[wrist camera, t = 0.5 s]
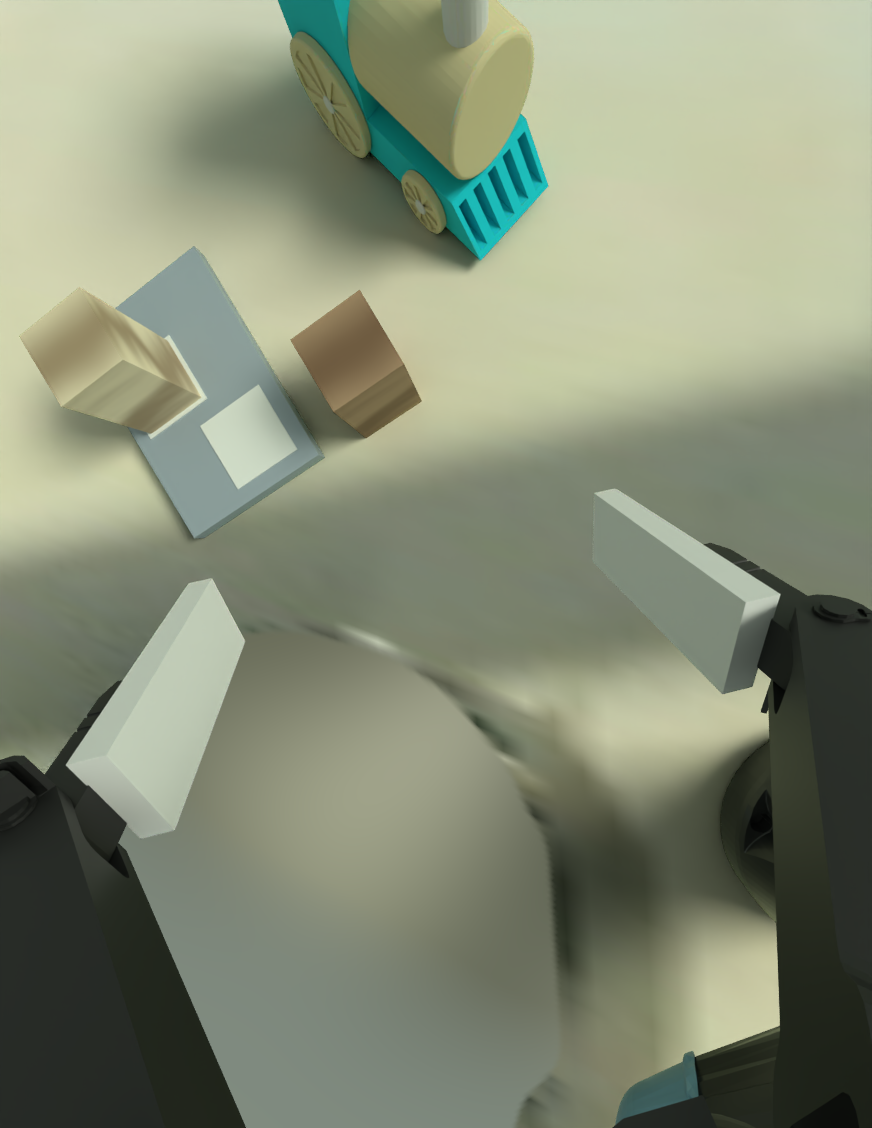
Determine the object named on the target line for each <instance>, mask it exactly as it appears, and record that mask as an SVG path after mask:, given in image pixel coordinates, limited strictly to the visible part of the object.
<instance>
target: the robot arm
mask: <svg viewBox="0 0 872 1128" xmlns="http://www.w3.org/2000/svg"><path fill="white" fill-rule="evenodd" d="M592 562H593V563H594V564H595V565H596V566H597V567H598V568H599V569H600V570H601V571H602V572H603V573H604V574H605V575H606V576H607V577H608V578H609V579H610V580H611V581H612V582H613V583H614V584H615V585H616V586H617V587H618V588H619V589H620V590H621V591H622V592H623V593H624V594H625V595H626V596H627V597H628V598H629V599H630V600H631V601H632V602H633V603H634V604H635V605H636V606H637V607H638V608H639V610H640V611H641V612H642V613H643V614H644V615H645V616H646V617H647V618H648V619H649V620H650V621H651V622H652V623H653V624H654V625H655V626H656V627H657V628H658V629H659V630H660V631H661V632H662V633H663V634H664V635H665V636H666V637H667V638H668V639H669V640H670V641H671V642H672V643H673V644H674V645H675V646H676V647H677V648H678V649H679V650H680V651H681V652H682V653H683V654H684V655H685V656H686V658H687V659H688V660H689V661H690V662H691V663H692V664H693V665H694V666H695V667H696V668H697V669H698V670H699V671H700V672H701V673H702V674H703V675H704V676H705V677H706V678H707V679H708V680H709V681H710V682H711V683H712V684H713V685H714V686H715V687H716V688H717V689H718V690H719V691H720V692H721V693H722V694H725V693H729V692H733V691H737V690H741V689H745V688H749V687H752V686H753V683H754V680H755V676H756V673H757V670H758V668H759V669H760V670H761V671H762V672H764V673H765V674H766V675H767V676H768V677H769V678H771V682H770V685H769V688H768V691H767V694H766V697H765V700H764V703H763V706H762V709H761V712H762V713H767V711H768V708H769V736H770V742H768V743H766V744H765V745H763V746H762V747H761V748H759V749H758V750H757V751H756V752H754V753H753V754H752V755H751V756H750V757H749V758H748V759H747V760H746V761H745V762H744V763H743V764H742V766H741V767H740V768H739V770H738V771H737V772H736V774H735V775H734V777H733V779H732V781H731V782H730V784H729V787H728V789H727V791H726V794H725V797H724V801H723V805H722V810H721V836H722V842H723V846H724V850H725V852H726V855H727V858H728V860H729V862H730V864H731V866H732V868H733V870H734V872H735V873H736V875H737V876H738V878H739V879H740V880H741V882H742V883H743V884H744V886H745V887H746V888H747V890H748V891H749V892H750V894H751V895H752V896H753V898H754V899H755V900H756V902H757V903H758V904H759V905H760V907H761V908H762V909H763V910H764V911H765V912H766V913H767V914H768V915H769V916H770V917H771V918H772V919H773V920H774V921H775V922H776V926H777V953H778V980H779V1007H780V1026H778V1027H776V1028H773V1029H770V1030H767V1031H765V1032H762V1033H759V1034H756V1035H754V1036H751V1037H748V1038H745V1039H743V1040H740V1041H737V1042H735V1043H732V1044H729V1045H726V1046H724V1047H721V1048H718V1049H715V1050H713V1051H710V1052H707V1053H704V1054H702V1055H699V1056H696V1057H695V1055H694V1052H693V1051H691V1052H688V1053H685V1054H684V1057H683V1062H681V1063H679V1064H677V1065H675V1066H672V1067H670V1068H668V1069H666V1070H664V1071H662V1072H659V1073H657V1074H655V1075H653V1076H651V1077H649V1078H647V1079H644V1080H642V1081H640V1082H638V1083H636V1084H635V1085H633V1086H632V1087H631V1088H629V1090H628V1091H627V1092H626V1093H625V1095H624V1097H623V1098H622V1101H621V1103H620V1106H619V1109H618V1113H617V1117H616V1124H615V1126H614V1127H613V1128H872V611H871V610H870V609H868V608H867V607H865V606H864V605H862V604H859V603H857V602H854V601H852V600H849V599H846V598H841V597H837V596H832V595H811V596H807V595H805V594H804V593H802V592H800V591H799V590H797V589H795V588H794V587H792V586H790V585H789V584H787V583H785V582H784V581H782V580H780V579H779V578H777V577H775V576H774V575H772V574H771V573H769V572H767V571H766V570H764V569H760V567H759V566H757V565H756V564H754V563H752V562H751V561H747V559H746V558H744V557H742V556H741V555H739V554H737V553H736V552H734V551H733V550H731V549H728V548H725V547H722V546H718V545H715V544H712V543H708V544H704V545H703V544H701V543H700V542H698V541H697V540H695V539H694V538H692V537H690V536H689V535H687V534H686V533H684V532H683V531H681V530H680V529H678V528H676V527H675V526H673V525H672V524H670V523H669V522H667V521H665V520H664V519H662V518H661V517H659V516H658V515H656V514H655V513H653V512H651V511H650V510H648V509H647V508H645V507H644V506H642V505H640V504H639V503H637V502H636V501H634V500H633V499H631V498H630V497H628V496H626V495H625V494H623V493H622V492H620V491H619V490H617V489H611V490H606V491H602V492H597V493H594V518H593V559H592ZM244 643H245V640H244V638H243V636H242V634H241V632H240V631H239V629H238V627H237V625H236V623H235V621H234V619H233V617H232V615H231V614H230V612H229V610H228V608H227V606H226V604H225V602H224V600H223V598H222V596H221V595H220V593H219V591H218V589H217V587H216V585H215V583H214V581H213V579H212V578H211V579H206V580H202V581H197V582H193V583H188V585H187V586H186V588H185V589H184V591H183V592H182V594H181V595H180V597H179V598H178V600H177V601H176V603H175V604H174V606H173V607H172V609H171V610H170V612H169V613H168V614H167V616H166V617H165V619H164V620H163V622H162V623H161V625H160V626H159V628H158V629H157V631H156V632H155V634H154V635H153V637H152V638H151V640H150V641H149V643H148V644H147V646H146V647H145V648H144V650H143V651H142V653H141V654H140V656H139V657H138V659H137V660H136V662H135V663H134V665H133V666H132V668H131V669H130V671H129V672H128V674H127V675H126V677H125V678H124V680H121V681H117V682H116V683H115V684H114V685H113V686H112V687H110V688H109V689H108V690H107V691H106V692H105V693H104V694H103V695H102V696H101V697H99V699H98V700H97V701H96V703H95V704H94V706H93V707H92V708H91V710H90V711H89V713H88V714H87V718H84V720H83V721H82V723H81V724H80V725H79V727H78V728H77V732H75V733H74V734H73V735H72V737H71V738H70V740H69V741H68V742H67V744H66V745H65V747H64V748H63V749H62V751H61V752H60V754H59V755H58V756H57V758H56V759H55V761H54V762H53V763H52V765H51V766H50V768H49V769H48V771H47V772H46V773H45V775H44V774H43V773H42V772H41V771H40V770H39V769H38V768H37V767H36V766H35V765H34V764H32V763H31V762H30V761H29V760H28V759H27V758H26V757H25V756H11V757H8V758H5V759H2V760H0V1128H246V1127H245V1124H244V1122H243V1120H242V1117H241V1115H240V1113H239V1110H238V1108H237V1106H236V1103H235V1101H234V1099H233V1096H232V1094H231V1092H230V1090H229V1087H228V1085H227V1083H226V1080H225V1078H224V1076H223V1073H222V1071H221V1069H220V1066H219V1064H218V1062H217V1059H216V1057H215V1055H214V1053H213V1050H212V1048H211V1046H210V1043H209V1041H208V1039H207V1037H206V1034H205V1032H204V1029H203V1027H202V1025H201V1022H200V1020H199V1018H198V1015H197V1013H196V1011H195V1008H194V1006H193V1004H192V1002H191V999H190V997H189V995H188V992H187V990H186V988H185V985H184V983H183V981H182V978H181V976H180V974H179V971H178V969H177V967H176V965H175V962H174V960H173V958H172V955H171V953H170V951H169V949H168V946H167V944H166V942H165V939H164V937H163V934H162V932H161V930H160V928H159V925H158V923H157V921H156V918H155V916H154V914H153V911H152V909H151V907H150V904H149V902H148V900H147V897H146V895H145V893H144V891H143V888H142V886H141V884H140V881H139V879H138V877H137V874H136V872H135V870H134V867H133V865H132V863H131V861H130V858H129V856H128V853H127V851H126V850H125V849H124V848H123V847H122V846H121V845H120V844H118V842H119V840H120V838H121V835H122V833H123V831H124V829H125V827H126V825H127V826H128V827H129V828H130V829H131V830H132V831H133V832H134V833H135V834H136V835H137V836H138V837H139V838H140V839H142V838H147V837H151V836H155V835H159V834H163V833H166V832H171V831H175V829H176V826H177V823H178V820H179V818H180V815H181V812H182V810H183V807H184V804H185V802H186V799H187V796H188V793H189V791H190V788H191V786H192V783H193V780H194V778H195V775H196V772H197V770H198V767H199V764H200V761H201V759H202V756H203V753H204V750H205V748H206V745H207V743H208V740H209V737H210V734H211V732H212V729H213V726H214V723H215V721H216V718H217V716H218V713H219V710H220V708H221V705H222V702H223V700H224V697H225V694H226V691H227V689H228V686H229V683H230V681H231V678H232V675H233V673H234V670H235V667H236V665H237V662H238V659H239V657H240V654H241V651H242V648H243V646H244Z"/></svg>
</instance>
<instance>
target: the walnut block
mask: <svg viewBox="0 0 872 1128" xmlns="http://www.w3.org/2000/svg"><path fill="white" fill-rule="evenodd" d="M291 342H292V344H293V345H294V347H295V349H296V350H297V352H298V354H299V355H300V357H301V359H302V360H303V362H304V364H305V365H306V367H307V369H308V370H309V372H310V374H311V375H312V377H313V379H314V380H315V382H316V384H317V385H318V387H319V389H320V390H321V392H322V394H323V395H324V397H325V399H326V400H327V402H328V404H329V405H330V407H331V409H332V410H333V412H334V413H335V414H337V415H338V416H339V417H340V418H342V419H343V420H344V421H345V422H347V423H348V424H349V425H350V426H352V427H353V428H354V429H355V430H357V431H358V432H359V433H360V434H362V435H363V436H364V437H365V438H367V437H369V436H370V435H372V434H373V433H375V432H376V431H378V430H379V429H381V428H382V427H384V426H385V425H387V424H388V423H390V422H391V421H393V420H394V419H396V418H397V417H399V416H400V415H402V414H403V413H405V412H406V411H408V410H409V409H411V408H412V407H414V406H415V405H417V404H418V403H420V402H421V399H420V397H419V394H418V392H417V390H416V388H415V386H414V384H413V382H412V380H411V378H410V376H409V374H408V371H407V369H406V367H405V365H404V363H403V362H402V360H401V358H400V357H399V355H398V353H397V352H396V350H395V348H394V347H393V345H392V343H391V342H390V340H389V338H388V337H387V335H386V333H385V332H384V330H383V328H382V326H381V325H380V323H379V321H378V320H377V318H376V316H375V315H374V313H373V311H372V310H371V308H370V306H369V305H368V303H367V301H366V300H365V298H364V296H363V295H362V293H361V291H360V290H359V291H357V292H356V293H355V294H353V295H352V296H350V297H349V298H348V299H346V300H345V301H343V302H342V303H341V304H339V305H338V306H337V307H335V308H334V309H332V310H331V311H330V312H328V313H327V314H326V315H324V316H323V317H321V318H320V319H319V320H317V321H316V322H314V323H313V324H312V325H310V326H309V327H308V328H306V329H305V330H303V331H302V332H301V333H299V334H298V335H296V336H295V337H294V338H292V339H291Z"/></svg>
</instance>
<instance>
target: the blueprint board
mask: <svg viewBox="0 0 872 1128" xmlns="http://www.w3.org/2000/svg"><path fill="white" fill-rule="evenodd" d="M115 309H116V310H118V311H120V312H121V313H123V314H125V315H126V316H128V317H130V318H131V319H133V320H134V321H136V322H138V323H139V324H141V325H143V326H144V327H146V328H148V329H149V330H151V331H153V332H154V333H156V334H158V335H159V336H161V337H162V338H164V339H166V340H167V341H168V342H169V344H170V345H171V347H172V349H173V350H174V352H175V354H176V355H177V357H178V359H179V360H180V362H181V364H182V365H183V367H184V369H185V370H186V372H187V374H188V375H189V377H190V379H191V380H192V382H193V384H194V385H195V387H196V389H197V390H198V392H199V394H200V395H201V397H202V398H200V399H199V400H197V401H196V402H195V403H193V404H192V405H191V406H189V407H188V408H186V409H185V410H184V411H182V412H181V413H180V414H178V415H177V416H175V417H174V418H173V419H171V420H170V421H168V422H167V423H166V424H164V425H163V426H162V427H160V428H159V429H157V430H156V431H155V432H153V433H152V434H151V433H147V432H144V431H141V430H137V429H134V428H131V427H128V429H129V430H130V432H131V434H132V435H133V437H134V439H135V440H136V442H137V444H138V445H139V447H140V449H141V450H142V452H143V454H144V455H145V457H146V459H147V460H148V462H149V464H150V465H151V467H152V469H153V470H154V472H155V474H156V475H157V477H158V479H159V480H160V482H161V484H162V485H163V487H164V489H165V490H166V492H167V494H168V495H169V497H170V499H171V500H172V502H173V504H174V505H175V507H176V509H177V510H178V512H179V514H180V515H181V517H182V519H183V520H184V522H185V524H186V525H187V527H188V529H189V530H190V532H191V534H192V535H193V537H194V538H205V537H206V536H208V535H209V534H211V533H212V532H214V531H215V530H217V529H218V528H220V527H221V526H223V525H224V524H226V523H227V522H229V521H230V520H232V519H233V518H235V517H236V516H238V515H239V514H241V513H242V512H244V511H245V510H247V509H248V508H250V507H251V506H253V505H254V504H256V503H257V502H259V501H260V500H262V499H263V498H265V497H266V496H268V495H269V494H271V493H272V492H274V491H275V490H277V489H278V488H280V487H281V486H283V485H284V484H286V483H287V482H289V481H290V480H292V479H293V478H295V477H296V476H298V475H299V474H301V473H302V472H304V471H305V470H307V469H308V468H310V467H311V466H313V465H314V464H316V463H317V462H319V461H320V460H322V459H323V458H325V457H324V455H323V453H322V451H321V450H320V448H319V446H318V445H317V443H316V441H315V440H314V438H313V436H312V435H311V433H310V431H309V430H308V428H307V426H306V425H305V423H304V421H303V420H302V418H301V416H300V415H299V413H298V411H297V410H296V408H295V406H294V405H293V403H292V401H291V400H290V398H289V396H288V395H287V393H286V391H285V390H284V388H283V386H282V385H281V383H280V381H279V380H278V378H277V376H276V375H275V373H274V371H273V370H272V368H271V366H270V365H269V363H268V361H267V360H266V358H265V356H264V355H263V353H262V351H261V350H260V348H259V346H258V345H257V343H256V341H255V340H254V338H253V336H252V335H251V333H250V331H249V330H248V328H247V326H246V325H245V323H244V321H243V320H242V318H241V316H240V315H239V313H238V311H237V310H236V308H235V306H234V305H233V303H232V301H231V300H230V298H229V296H228V295H227V293H226V291H225V290H224V288H223V286H222V285H221V283H220V281H219V280H218V278H217V276H216V275H215V273H214V271H213V270H212V268H211V266H210V265H209V263H208V261H207V260H206V258H205V256H204V255H203V254H202V253H201V252H200V251H199V250H198V249H197V248H196V247H195V246H193V247H192V248H191V249H190V250H188V251H187V252H186V253H185V254H183V255H182V256H181V257H179V258H178V259H177V260H176V261H174V262H173V263H172V264H171V265H169V266H168V267H167V268H166V269H164V270H163V271H162V272H161V273H159V274H158V275H157V276H155V277H154V278H153V279H152V280H150V281H149V282H148V283H147V284H145V285H144V286H143V287H142V288H140V289H139V290H138V291H137V292H135V293H134V294H133V295H131V296H130V297H129V298H128V299H126V300H125V301H124V302H123V303H121V304H120V305H119V306H118V307H116V308H115Z"/></svg>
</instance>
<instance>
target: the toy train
mask: <svg viewBox="0 0 872 1128" xmlns="http://www.w3.org/2000/svg"><path fill="white" fill-rule="evenodd" d="M278 2H279V5H280V7H281V10H282V12H283V15H284V17H285V20H286V23H287V25H288V28H289V30H290V33H291V36H292V40H291V43H290V50H291V56H292V59H293V63H294V66H295V69H296V71H297V74H298V76H299V78H300V80H301V83H302V85H303V87H304V89H305V91H306V93H307V94H308V96H309V98H310V100H311V102H312V103H313V105H314V107H315V108H316V110H317V112H318V113H319V115H320V116H321V118H322V119H323V121H324V122H325V124H326V125H327V127H328V128H329V129H330V130H331V132H332V133H333V134H334V136H335V137H336V138H337V139H338V140H339V142H340V143H341V144H342V145H343V146H344V147H345V148H346V149H347V150H348V151H349V152H351V153H352V154H353V155H355V156H357V157H359V158H364V157H365V156H366V155H367V154H368V153H369V152H371V153H372V154H373V155H374V156H375V157H376V158H377V159H378V160H379V161H380V162H381V163H382V164H383V165H384V166H385V167H386V168H387V169H388V170H389V171H390V172H391V173H392V174H393V175H394V176H395V177H396V178H397V179H398V180H399V181H400V182H401V184H402V189H403V193H404V195H405V198H406V200H407V202H408V204H409V206H410V207H411V209H412V211H413V212H414V214H415V215H416V216H417V218H418V219H419V220H420V222H421V223H422V224H423V225H424V226H425V227H426V228H427V229H428V230H430V231H431V232H433V233H436V234H438V233H440V232H441V231H442V230H443V229H444V228H445V226H446V227H447V228H448V229H449V230H450V231H451V232H452V233H453V234H454V235H455V236H456V237H457V238H458V239H459V240H460V241H461V242H462V243H463V244H464V245H465V246H466V247H467V248H468V249H469V250H470V251H471V252H472V253H473V254H474V255H475V256H476V257H477V258H478V259H479V260H480V261H481V260H482V258H483V257H484V256H485V255H486V254H487V253H488V252H489V251H490V250H491V249H492V247H493V246H494V245H495V244H496V243H497V242H498V241H499V240H500V239H501V238H502V236H503V235H504V234H505V233H506V232H507V231H508V230H509V229H510V228H511V227H512V225H513V224H514V223H515V222H516V221H517V220H518V219H519V218H520V217H521V216H522V214H523V213H524V212H525V211H526V210H527V209H528V208H529V207H530V206H531V205H532V203H533V202H534V201H535V200H536V199H537V198H538V197H539V196H540V195H541V194H542V192H543V191H544V190H545V189H546V188H547V187H548V183H547V180H546V177H545V174H544V172H543V169H542V166H541V163H540V160H539V157H538V154H537V151H536V148H535V145H534V142H533V139H532V136H531V133H530V130H529V127H528V124H527V121H526V118H525V117H523V116H522V115H521V114H520V113H521V111H522V108H523V106H524V103H525V100H526V97H527V93H528V90H529V86H530V82H531V77H532V71H533V63H534V48H533V42H532V38H531V35H530V33H529V31H528V30H527V29H526V28H525V27H524V26H523V25H522V24H521V23H520V22H519V21H518V20H517V19H516V18H515V17H514V16H513V15H512V14H511V13H510V12H509V11H508V10H507V9H506V8H505V7H504V6H502V5H501V4H500V3H499V2H498V1H497V0H278Z"/></svg>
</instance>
